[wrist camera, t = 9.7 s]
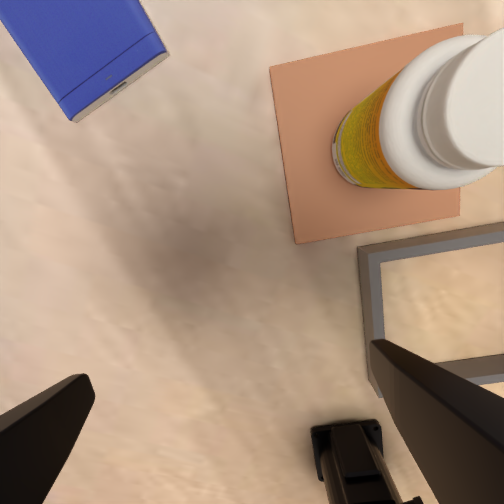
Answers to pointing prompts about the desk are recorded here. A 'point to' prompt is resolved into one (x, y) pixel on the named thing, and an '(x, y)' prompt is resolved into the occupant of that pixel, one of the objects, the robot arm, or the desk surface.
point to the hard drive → (84, 47)
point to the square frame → (373, 255)
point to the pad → (322, 133)
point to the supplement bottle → (429, 120)
